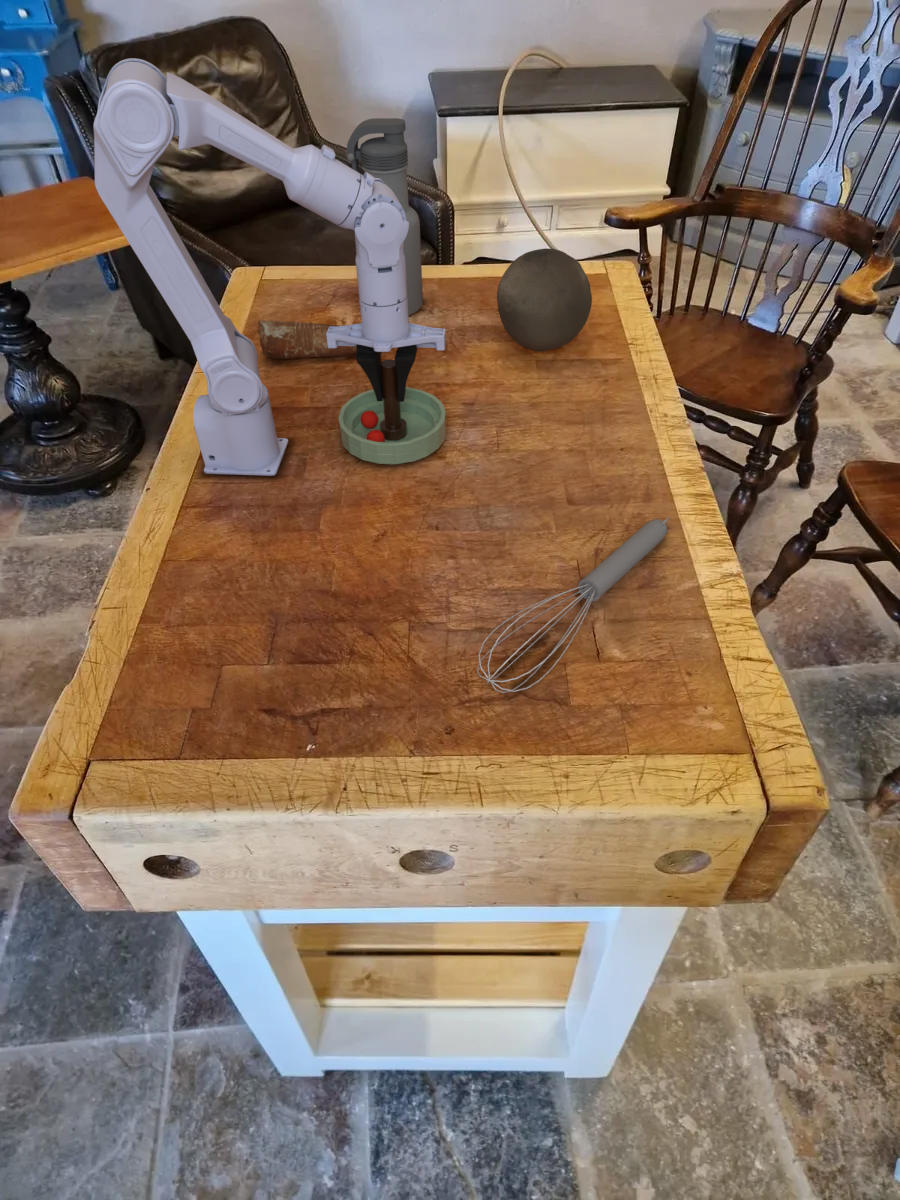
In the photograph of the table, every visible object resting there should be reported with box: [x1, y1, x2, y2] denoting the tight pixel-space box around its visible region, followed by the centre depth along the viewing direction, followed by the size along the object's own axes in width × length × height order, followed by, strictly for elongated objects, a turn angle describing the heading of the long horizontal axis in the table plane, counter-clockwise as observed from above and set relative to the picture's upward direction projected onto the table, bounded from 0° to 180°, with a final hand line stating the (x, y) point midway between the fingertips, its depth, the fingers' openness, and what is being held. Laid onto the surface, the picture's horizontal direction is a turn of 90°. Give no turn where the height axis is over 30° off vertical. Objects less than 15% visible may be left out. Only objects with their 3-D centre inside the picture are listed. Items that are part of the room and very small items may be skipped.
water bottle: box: [346, 117, 424, 317], centre depth 126 cm, size 10×10×28 cm
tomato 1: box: [361, 411, 378, 429], centre depth 109 cm, size 2×2×2 cm
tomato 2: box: [367, 430, 385, 442], centre depth 105 cm, size 2×2×2 cm
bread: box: [257, 319, 357, 360], centre depth 123 cm, size 6×19×6 cm, turn 92°
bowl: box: [337, 386, 447, 465], centre depth 107 cm, size 14×14×4 cm
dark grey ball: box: [496, 247, 593, 353], centre depth 120 cm, size 14×14×15 cm
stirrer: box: [380, 358, 407, 441], centre depth 105 cm, size 4×4×10 cm
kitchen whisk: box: [476, 516, 671, 694], centre depth 83 cm, size 6×34×6 cm, turn 140°
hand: (391, 397), depth 104 cm, fingers closed on stirrer, 2 cm apart
